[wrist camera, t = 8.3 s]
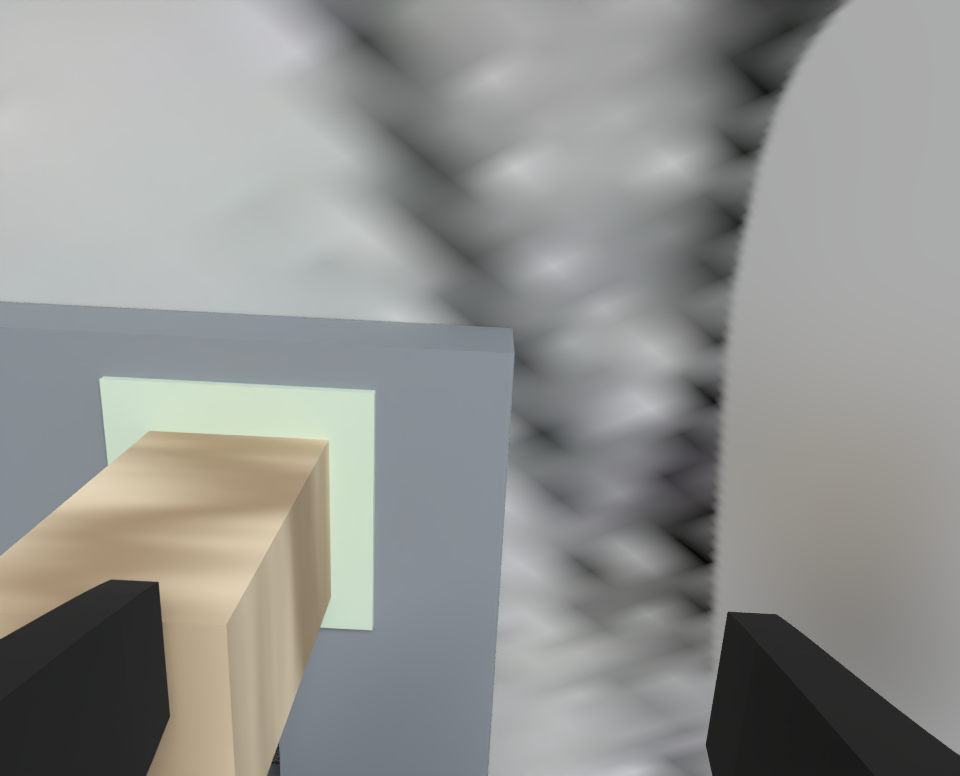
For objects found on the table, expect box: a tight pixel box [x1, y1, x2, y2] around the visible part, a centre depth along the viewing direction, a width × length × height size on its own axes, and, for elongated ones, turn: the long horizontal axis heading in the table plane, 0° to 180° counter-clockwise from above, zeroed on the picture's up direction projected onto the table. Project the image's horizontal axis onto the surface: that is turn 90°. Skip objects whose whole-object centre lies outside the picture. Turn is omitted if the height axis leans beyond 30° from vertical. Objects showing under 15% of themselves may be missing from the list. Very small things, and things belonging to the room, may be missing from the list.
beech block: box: [0, 431, 331, 776], centre depth 15 cm, size 4×4×7 cm
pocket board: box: [0, 302, 515, 776], centre depth 21 cm, size 14×16×3 cm
